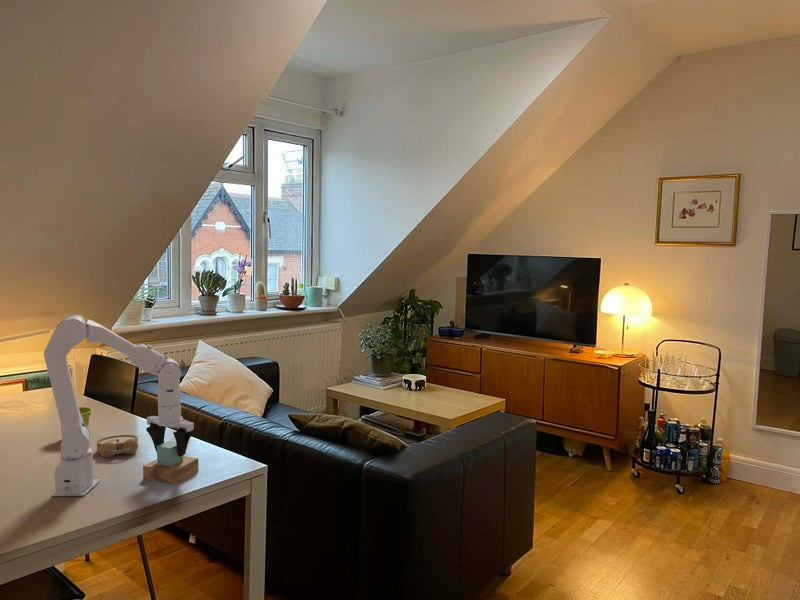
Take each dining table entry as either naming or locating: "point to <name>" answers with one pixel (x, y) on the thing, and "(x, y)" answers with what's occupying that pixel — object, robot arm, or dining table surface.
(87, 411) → the plant pot
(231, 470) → the dining table surface
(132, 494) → the dining table surface
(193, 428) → the robot arm
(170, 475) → the walnut box
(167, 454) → the teal block
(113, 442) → the alarm clock
